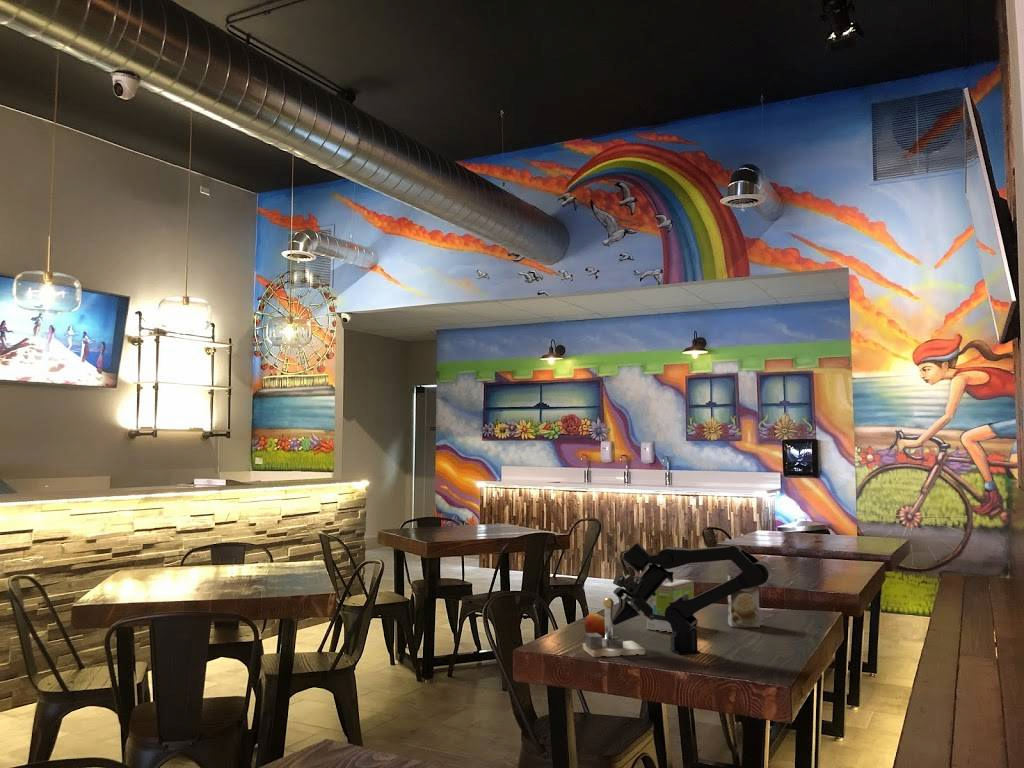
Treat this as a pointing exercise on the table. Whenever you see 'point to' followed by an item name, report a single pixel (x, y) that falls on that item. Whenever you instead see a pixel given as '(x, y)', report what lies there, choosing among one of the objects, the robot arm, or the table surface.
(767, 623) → the table surface
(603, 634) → the fruit
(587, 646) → the board
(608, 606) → the gold knob lever
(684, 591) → the tea box
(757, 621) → the coffee box
